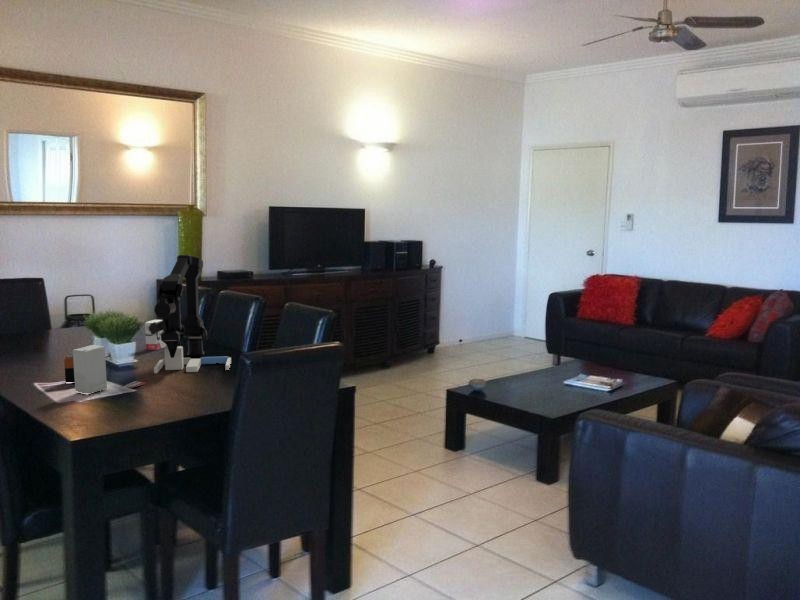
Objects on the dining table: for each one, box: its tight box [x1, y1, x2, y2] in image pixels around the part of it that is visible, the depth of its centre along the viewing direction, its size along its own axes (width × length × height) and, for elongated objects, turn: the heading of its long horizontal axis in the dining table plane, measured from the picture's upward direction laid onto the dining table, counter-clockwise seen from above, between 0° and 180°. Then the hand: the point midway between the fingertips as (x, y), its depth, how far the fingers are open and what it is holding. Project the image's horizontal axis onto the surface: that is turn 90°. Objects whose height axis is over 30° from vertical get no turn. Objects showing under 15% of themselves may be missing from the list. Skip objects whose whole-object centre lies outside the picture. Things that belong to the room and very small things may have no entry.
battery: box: [63, 353, 75, 383], centre depth 248 cm, size 4×7×10 cm, turn 110°
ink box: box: [144, 319, 167, 351], centre depth 307 cm, size 8×5×12 cm, turn 169°
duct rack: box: [153, 355, 232, 374], centre depth 271 cm, size 14×26×2 cm, turn 100°
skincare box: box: [72, 344, 108, 393], centre depth 235 cm, size 8×6×15 cm
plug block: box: [164, 345, 185, 371], centre depth 270 cm, size 4×6×8 cm, turn 100°
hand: (174, 355), depth 270 cm, fingers open, 9 cm apart
